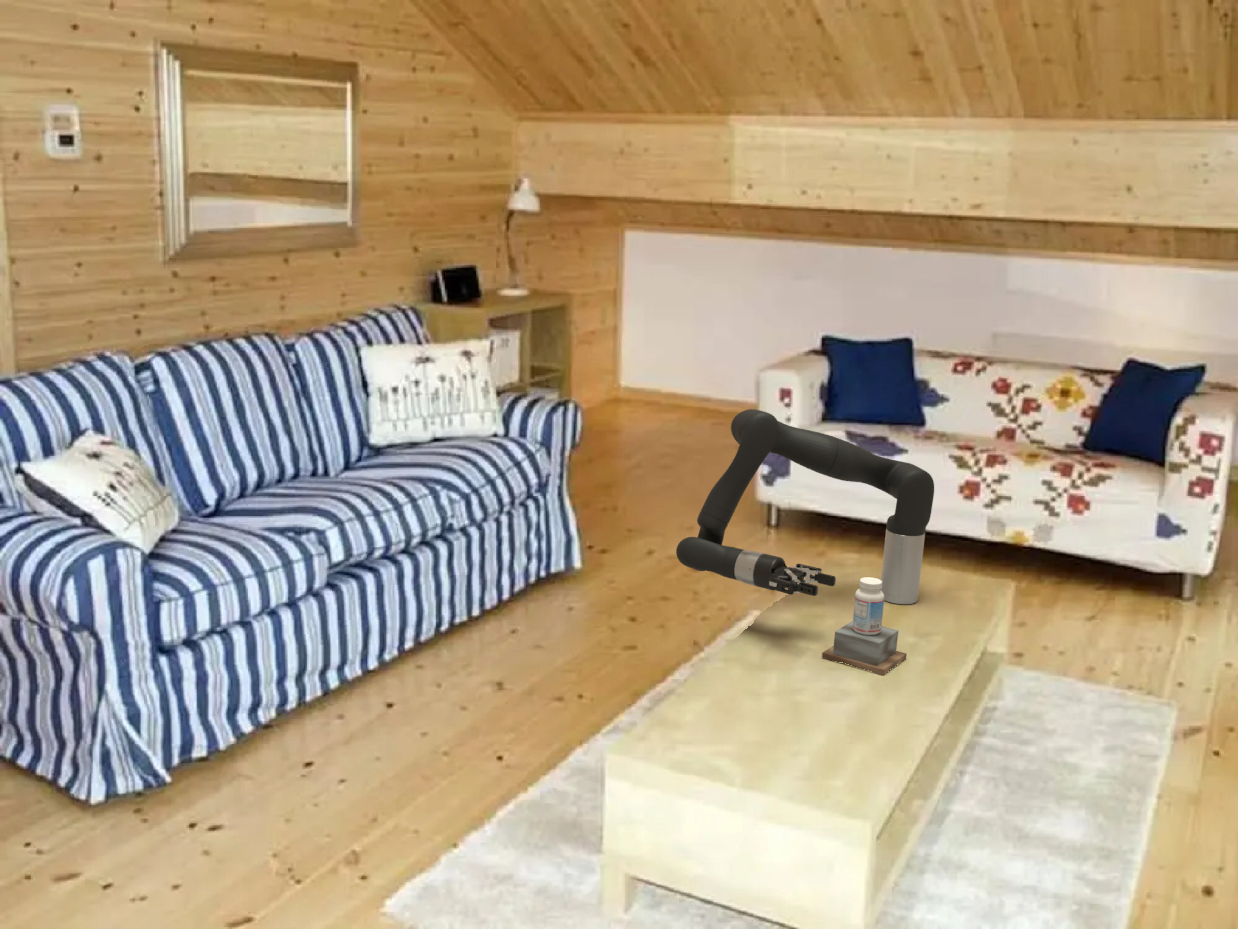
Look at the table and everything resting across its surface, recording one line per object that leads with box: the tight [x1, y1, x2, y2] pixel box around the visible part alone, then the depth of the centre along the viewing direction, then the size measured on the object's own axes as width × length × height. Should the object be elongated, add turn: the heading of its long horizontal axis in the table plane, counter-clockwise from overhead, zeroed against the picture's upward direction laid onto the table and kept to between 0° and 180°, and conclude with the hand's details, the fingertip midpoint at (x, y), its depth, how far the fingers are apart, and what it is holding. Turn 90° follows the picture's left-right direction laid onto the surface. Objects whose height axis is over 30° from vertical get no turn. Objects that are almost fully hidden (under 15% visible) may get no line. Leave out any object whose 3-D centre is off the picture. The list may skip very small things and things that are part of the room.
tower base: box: [821, 620, 908, 676], centre depth 270 cm, size 12×14×6 cm
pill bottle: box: [852, 576, 885, 635], centre depth 268 cm, size 6×6×11 cm
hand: (826, 586), depth 273 cm, fingers open, 8 cm apart
